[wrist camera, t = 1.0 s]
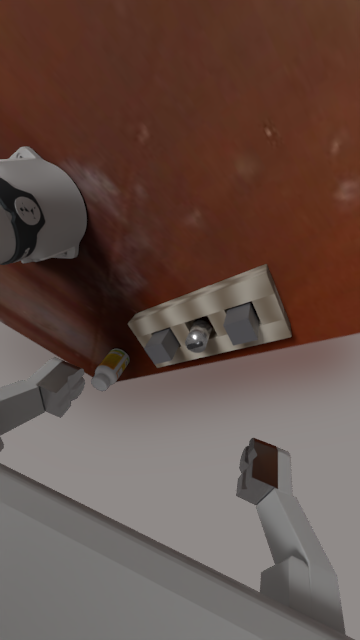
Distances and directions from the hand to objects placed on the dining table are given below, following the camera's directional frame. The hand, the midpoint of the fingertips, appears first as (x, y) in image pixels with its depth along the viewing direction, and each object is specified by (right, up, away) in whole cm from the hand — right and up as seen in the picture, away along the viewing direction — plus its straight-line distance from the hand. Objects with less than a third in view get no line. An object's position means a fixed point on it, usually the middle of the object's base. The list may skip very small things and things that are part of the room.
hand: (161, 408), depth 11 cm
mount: (+6, +4, +37) cm, 38 cm away
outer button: (+11, +5, +31) cm, 33 cm away
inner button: (-2, 0, +38) cm, 38 cm away
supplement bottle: (-14, -5, +51) cm, 53 cm away
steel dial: (+5, +2, +35) cm, 35 cm away
